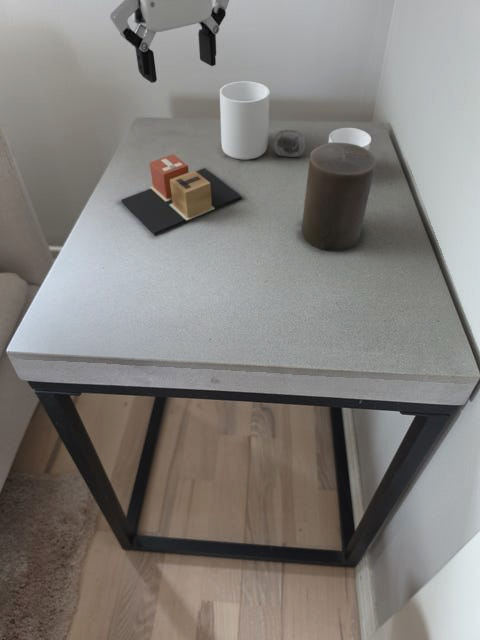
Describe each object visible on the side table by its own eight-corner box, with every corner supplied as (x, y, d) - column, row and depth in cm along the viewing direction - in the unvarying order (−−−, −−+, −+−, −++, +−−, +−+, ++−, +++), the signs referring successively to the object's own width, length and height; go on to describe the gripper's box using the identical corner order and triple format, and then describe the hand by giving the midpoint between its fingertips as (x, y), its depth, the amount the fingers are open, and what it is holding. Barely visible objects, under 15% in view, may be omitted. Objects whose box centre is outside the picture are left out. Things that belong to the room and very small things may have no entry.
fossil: (272, 158, 97) (273, 135, 94) (272, 150, 100) (273, 126, 96) (304, 159, 97) (307, 135, 93) (303, 150, 99) (305, 127, 96)
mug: (218, 160, 97) (216, 101, 88) (225, 131, 105) (224, 75, 96) (265, 162, 96) (268, 103, 88) (269, 133, 104) (271, 77, 96)
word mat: (155, 236, 80) (155, 233, 80) (120, 201, 87) (119, 198, 87) (242, 199, 88) (242, 196, 87) (203, 169, 95) (203, 166, 94)
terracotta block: (153, 187, 89) (149, 162, 86) (176, 178, 91) (173, 153, 87) (166, 199, 87) (163, 174, 83) (190, 190, 88) (188, 165, 85)
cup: (365, 162, 96) (372, 129, 91) (363, 189, 90) (370, 156, 85) (326, 158, 97) (330, 125, 92) (321, 185, 91) (326, 151, 86)
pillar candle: (318, 257, 77) (331, 172, 66) (291, 223, 83) (299, 140, 72) (371, 243, 79) (392, 158, 68) (341, 210, 85) (356, 128, 74)
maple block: (172, 204, 85) (169, 179, 82) (196, 195, 87) (194, 169, 84) (187, 218, 83) (185, 192, 79) (212, 208, 85) (210, 182, 81)
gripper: (209, -97, 61) (214, 50, 74) (81, -82, 54) (111, 77, 67) (244, -90, 57) (244, 65, 70) (111, -72, 50) (137, 95, 63)
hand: (179, 70), depth 68 cm, fingers open, 9 cm apart
